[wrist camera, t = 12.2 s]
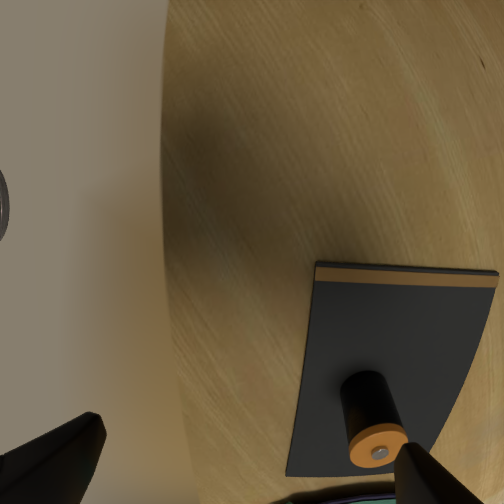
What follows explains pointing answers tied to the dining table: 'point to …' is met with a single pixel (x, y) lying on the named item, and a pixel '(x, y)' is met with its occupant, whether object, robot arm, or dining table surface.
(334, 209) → the dining table surface
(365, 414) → the battery
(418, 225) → the dining table surface
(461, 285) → the desk mat
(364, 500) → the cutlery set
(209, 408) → the dining table surface
